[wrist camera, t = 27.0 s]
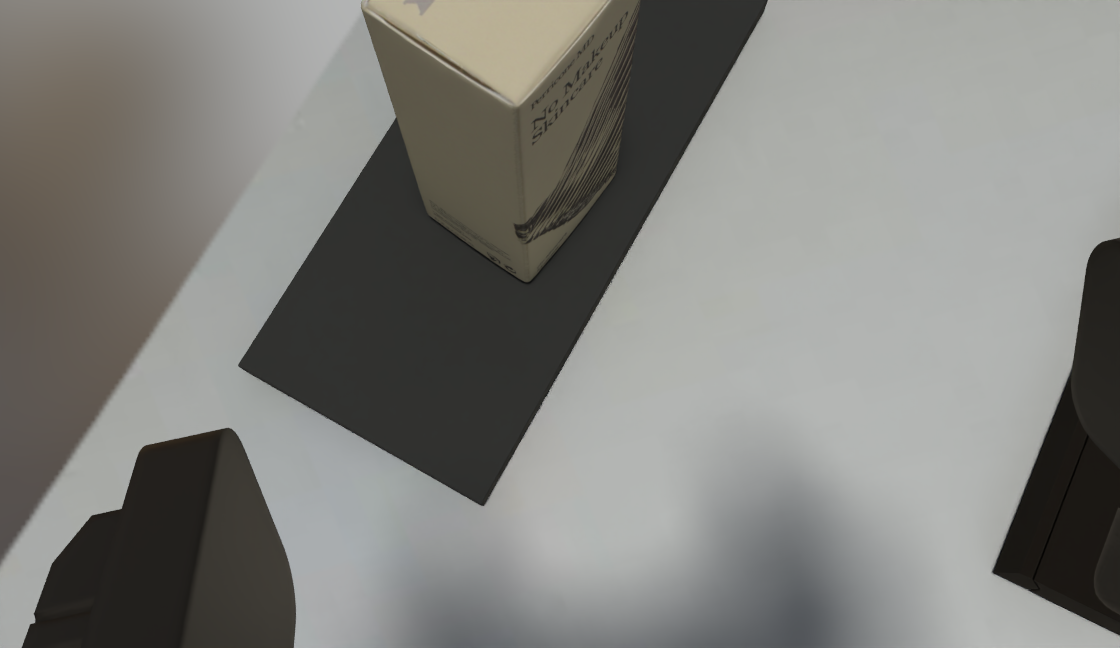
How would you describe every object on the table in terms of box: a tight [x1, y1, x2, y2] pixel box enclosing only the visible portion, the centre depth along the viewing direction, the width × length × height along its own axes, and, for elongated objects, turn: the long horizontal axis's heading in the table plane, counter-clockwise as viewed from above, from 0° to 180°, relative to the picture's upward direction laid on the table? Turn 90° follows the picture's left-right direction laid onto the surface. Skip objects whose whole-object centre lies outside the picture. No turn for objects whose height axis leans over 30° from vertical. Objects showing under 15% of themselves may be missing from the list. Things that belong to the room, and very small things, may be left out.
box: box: [361, 0, 641, 282], centre depth 28 cm, size 5×4×13 cm
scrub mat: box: [238, 0, 768, 506], centre depth 35 cm, size 20×9×1 cm, turn 151°
